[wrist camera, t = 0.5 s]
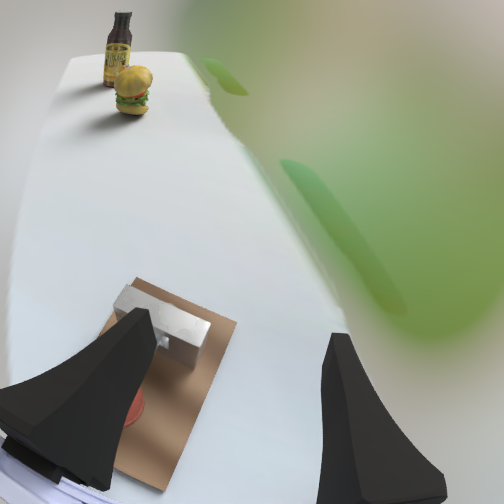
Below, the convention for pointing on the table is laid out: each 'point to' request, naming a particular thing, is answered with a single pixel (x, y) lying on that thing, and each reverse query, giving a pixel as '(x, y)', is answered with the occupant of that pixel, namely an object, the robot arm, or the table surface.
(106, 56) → the sauce bottle
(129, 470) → the board
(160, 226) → the table surface
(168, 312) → the grey rectangular block
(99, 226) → the table surface
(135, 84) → the hamburger
